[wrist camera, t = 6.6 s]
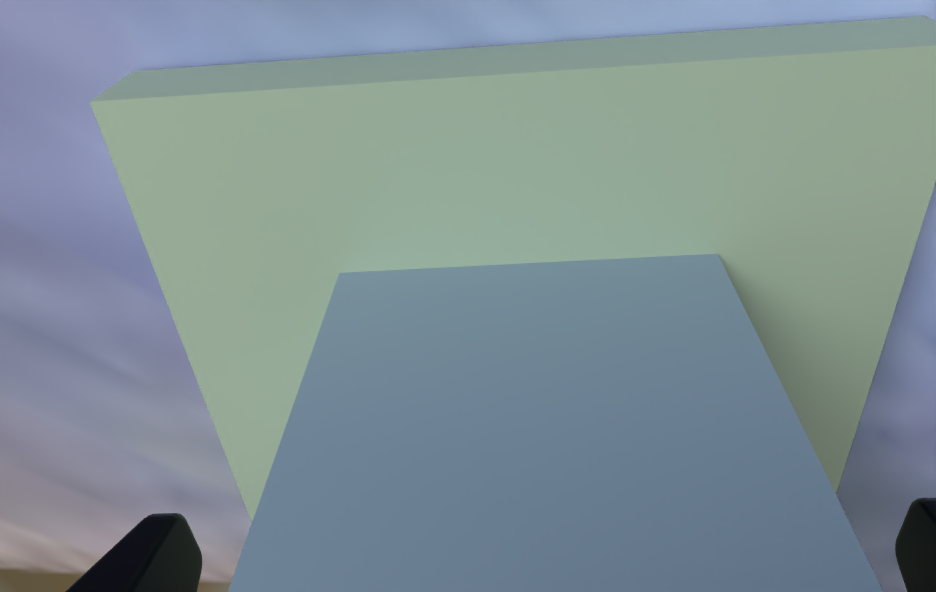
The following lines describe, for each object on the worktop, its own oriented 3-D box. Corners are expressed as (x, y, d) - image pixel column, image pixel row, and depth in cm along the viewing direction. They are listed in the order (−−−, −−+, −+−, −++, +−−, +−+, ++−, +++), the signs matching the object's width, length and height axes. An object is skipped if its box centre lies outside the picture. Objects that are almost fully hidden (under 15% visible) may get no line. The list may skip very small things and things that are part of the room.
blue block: (717, 253, 9) (894, 613, 5) (684, 507, 12) (779, 871, 8) (339, 273, 10) (217, 622, 5) (392, 513, 12) (338, 864, 8)
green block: (924, 15, 9) (980, 42, 8) (783, 537, 14) (804, 592, 13) (133, 71, 9) (89, 101, 8) (295, 546, 15) (280, 597, 14)
